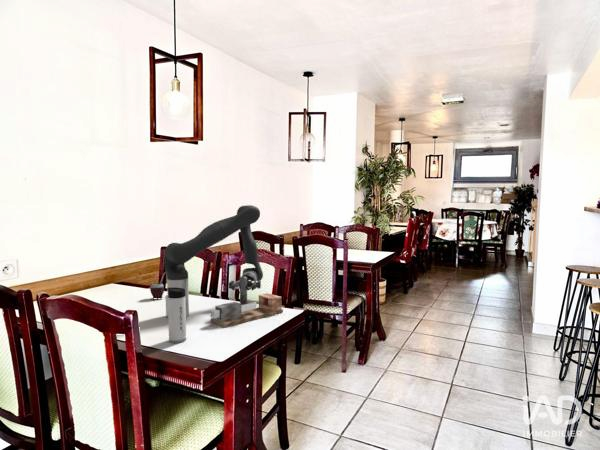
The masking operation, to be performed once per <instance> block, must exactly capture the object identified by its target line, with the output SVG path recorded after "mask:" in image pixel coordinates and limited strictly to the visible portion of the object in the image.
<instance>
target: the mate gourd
mask: <svg viewBox="0 0 600 450" xmlns="http://www.w3.org/2000/svg"><path fill="white" fill-rule="evenodd" d="M165 275H166V272H163V274H162V276H161V280H160V282H157V283H156V282H154V283H152V284H151V285H150V287H149V288H150V289H149V290H150V293H151V296H152V299H153V298H163V295H164V293H165V287H164V286H165V285H164V284H163V282H162V281H163V279H164V277H165Z"/></svg>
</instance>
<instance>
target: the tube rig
mask: <svg viewBox="0 0 600 450" xmlns="http://www.w3.org/2000/svg"><path fill="white" fill-rule="evenodd" d="M282 301H283V299H282V296H279V295H276V294H272V293H269V292H268V293H262V294H258V306H257V307H256V309H252V310H248V311H244V312H241V304H240V302H238V301H231V302H228V303H223V304H216V305H215V306H214V307H215V308H214V309H217V308H219V309H221V317H218V318H212V317H210V323H213V324H215V325H218V326H220V327H222V328H229V327H233V326H235V325H241V324H245V323H247V322H252V321H255V320H260V319H263V318H266V317H267V318H268V317H270V316H271V317H272V316H276V315H279V314H283V313H284V309H283V307H282ZM282 312H283V313H282Z"/></svg>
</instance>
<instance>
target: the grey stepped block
mask: <svg viewBox="0 0 600 450" xmlns="http://www.w3.org/2000/svg"><path fill="white" fill-rule="evenodd" d="M241 276H242V275H241ZM241 276H239V279H240V289H239V303H240V304H241V312H244V311H248V310H252V309H256V308H257V301H254V300H251V301H248V290H247V277H245V276H242V277H241ZM209 313H210V318H218V317H221V309H219V308H217V309H215V308H213V309H210V312H209Z"/></svg>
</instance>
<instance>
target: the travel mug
mask: <svg viewBox="0 0 600 450" xmlns="http://www.w3.org/2000/svg"><path fill="white" fill-rule="evenodd" d="M167 290H168V317H167V318H168V341H169V343H171V344H181V343H184V342H185V341H186V340H187V316H186V298H185V297H186V296H185V289H183V288H177V287H173V288H170V287H168V288H167V287H166V291H167Z"/></svg>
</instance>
